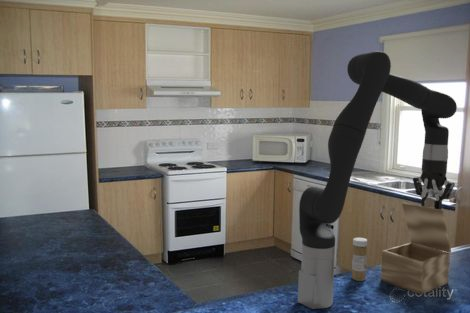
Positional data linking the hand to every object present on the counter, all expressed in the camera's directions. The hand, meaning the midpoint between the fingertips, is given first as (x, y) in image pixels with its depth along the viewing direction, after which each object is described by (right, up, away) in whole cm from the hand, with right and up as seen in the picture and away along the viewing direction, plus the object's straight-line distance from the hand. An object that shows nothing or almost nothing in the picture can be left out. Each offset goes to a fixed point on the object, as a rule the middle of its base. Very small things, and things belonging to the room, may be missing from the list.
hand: (431, 210), depth 155 cm
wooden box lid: (-2, -5, -1) cm, 6 cm away
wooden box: (-6, -23, -2) cm, 24 cm away
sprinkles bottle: (-24, -23, 0) cm, 33 cm away
